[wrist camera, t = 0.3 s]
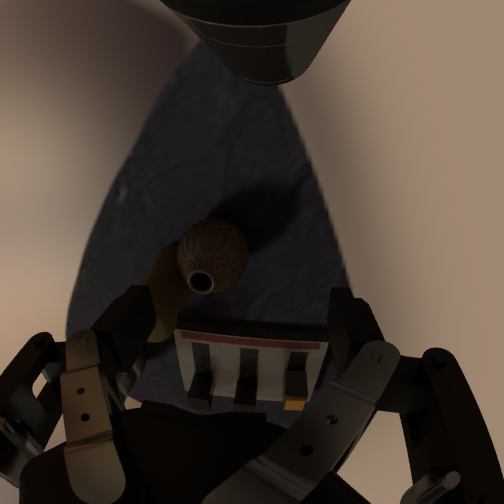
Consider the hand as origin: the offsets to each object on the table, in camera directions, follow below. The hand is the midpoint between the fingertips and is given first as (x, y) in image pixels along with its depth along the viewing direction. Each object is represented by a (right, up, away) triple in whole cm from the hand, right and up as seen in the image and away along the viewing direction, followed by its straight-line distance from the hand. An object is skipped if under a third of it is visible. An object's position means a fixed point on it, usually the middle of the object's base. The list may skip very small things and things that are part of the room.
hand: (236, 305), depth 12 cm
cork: (-8, 0, +21) cm, 22 cm away
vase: (-3, +4, +19) cm, 19 cm away
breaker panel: (0, -14, +27) cm, 30 cm away
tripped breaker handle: (+7, -15, +24) cm, 30 cm away
